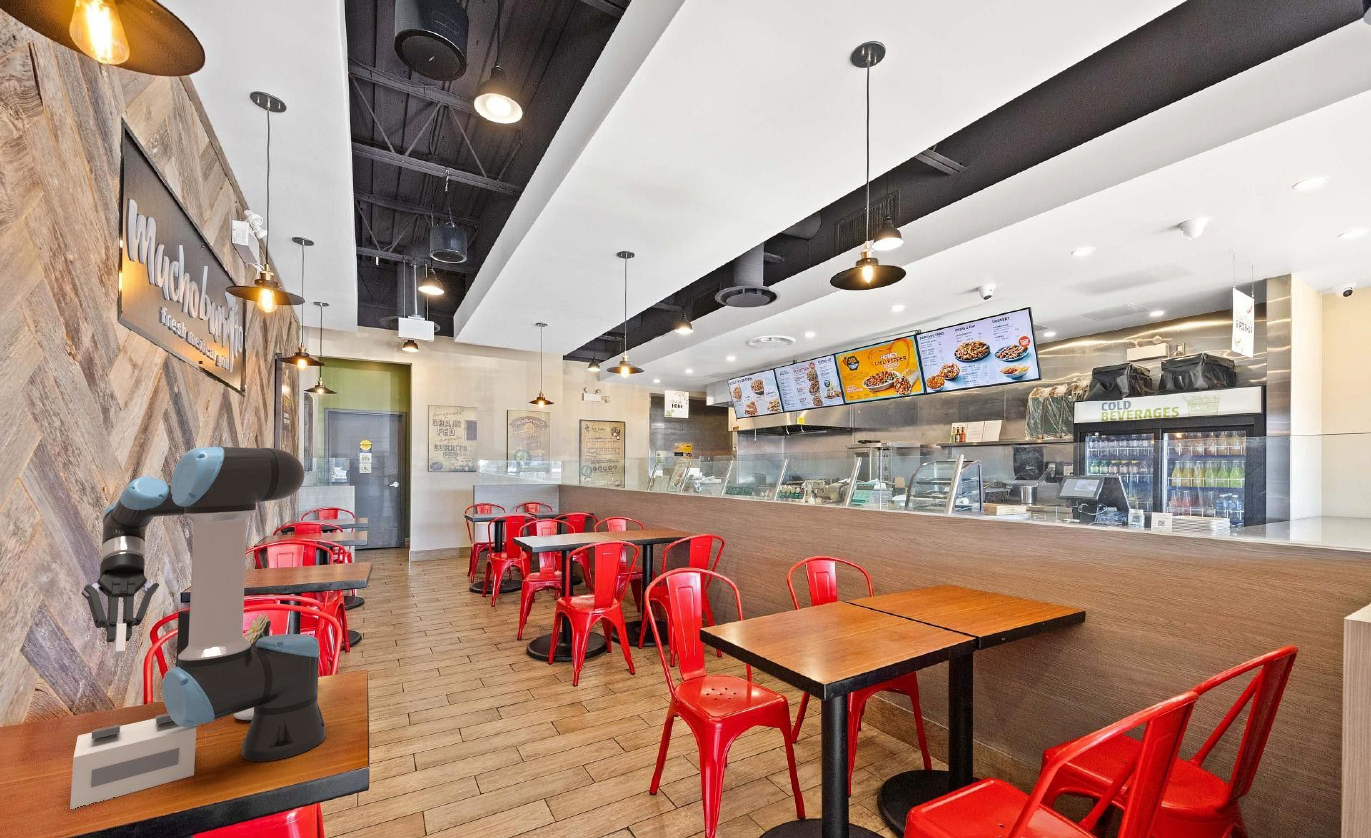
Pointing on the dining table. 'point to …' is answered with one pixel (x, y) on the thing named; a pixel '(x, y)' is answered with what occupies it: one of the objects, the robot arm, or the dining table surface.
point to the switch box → (131, 760)
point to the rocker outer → (106, 731)
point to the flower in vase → (252, 634)
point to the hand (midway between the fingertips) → (118, 654)
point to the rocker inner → (163, 718)
